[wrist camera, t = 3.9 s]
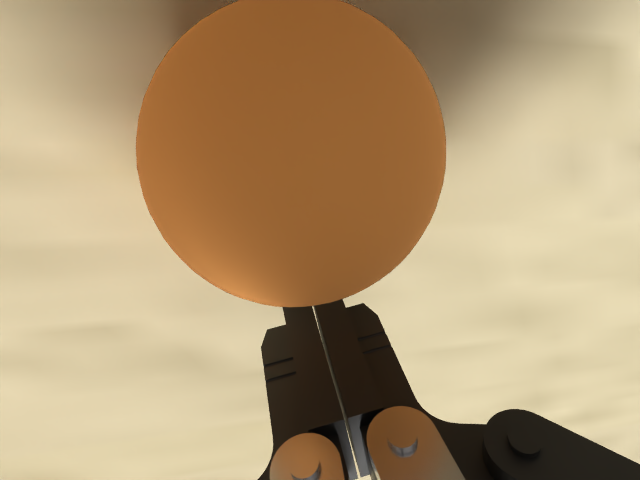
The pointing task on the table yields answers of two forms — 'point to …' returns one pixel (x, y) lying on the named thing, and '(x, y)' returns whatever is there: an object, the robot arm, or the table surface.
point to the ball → (291, 150)
